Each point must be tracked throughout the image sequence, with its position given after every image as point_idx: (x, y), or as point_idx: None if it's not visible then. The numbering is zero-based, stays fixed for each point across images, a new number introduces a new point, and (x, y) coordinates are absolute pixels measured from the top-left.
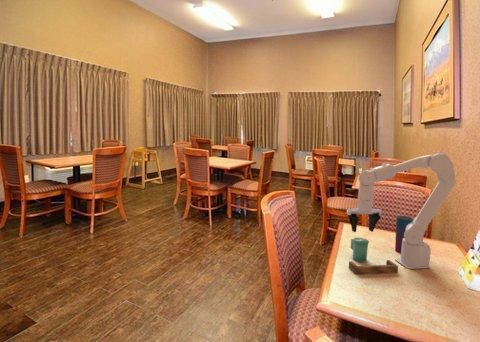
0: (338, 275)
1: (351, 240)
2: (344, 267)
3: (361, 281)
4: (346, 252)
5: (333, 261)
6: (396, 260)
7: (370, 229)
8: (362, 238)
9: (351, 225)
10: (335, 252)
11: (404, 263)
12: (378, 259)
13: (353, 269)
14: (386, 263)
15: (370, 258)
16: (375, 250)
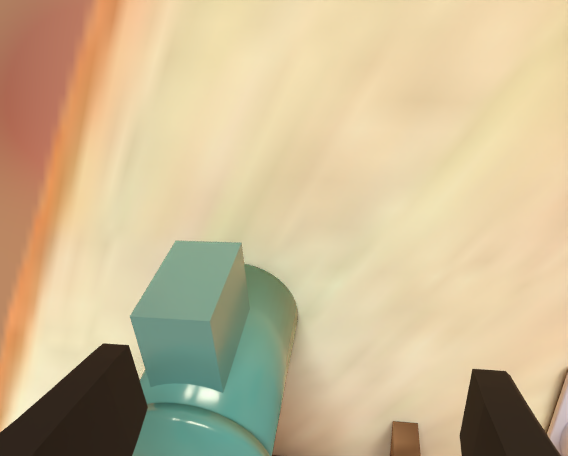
0: None
1: (139, 311)
2: None
3: None
4: (170, 174)
5: (19, 314)
6: (565, 384)
7: (469, 436)
8: (225, 448)
9: (29, 419)
10: (55, 165)
11: (562, 453)
12: (417, 331)
13: None
14: (393, 443)
15: (353, 308)
16: (564, 147)
